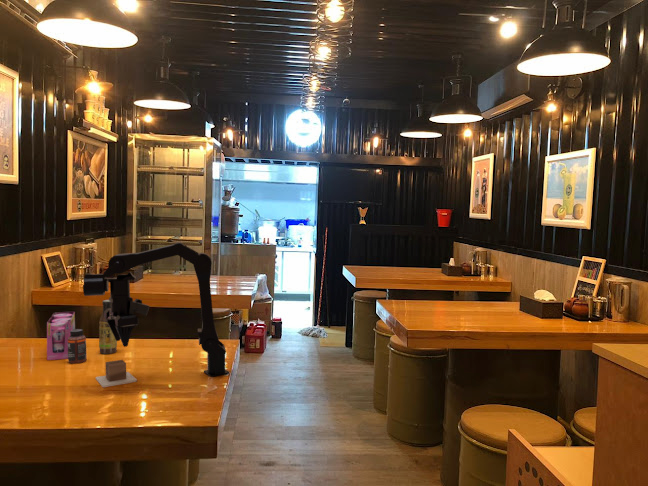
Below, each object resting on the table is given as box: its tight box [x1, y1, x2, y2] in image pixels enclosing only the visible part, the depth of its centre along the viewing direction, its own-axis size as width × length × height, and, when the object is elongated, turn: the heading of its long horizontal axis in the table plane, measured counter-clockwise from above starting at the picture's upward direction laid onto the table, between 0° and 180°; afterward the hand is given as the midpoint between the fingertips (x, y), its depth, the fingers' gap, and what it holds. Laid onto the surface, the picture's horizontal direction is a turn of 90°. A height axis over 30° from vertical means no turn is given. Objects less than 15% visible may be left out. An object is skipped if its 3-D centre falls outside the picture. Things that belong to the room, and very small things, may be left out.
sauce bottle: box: [98, 299, 118, 355], centre depth 198 cm, size 6×6×20 cm
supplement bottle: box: [67, 328, 87, 364], centre depth 185 cm, size 6×6×11 cm
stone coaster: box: [95, 371, 138, 388], centre depth 165 cm, size 10×10×1 cm
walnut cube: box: [105, 359, 127, 382], centre depth 164 cm, size 5×5×5 cm
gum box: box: [46, 311, 76, 361], centre depth 198 cm, size 24×8×14 cm, turn 21°
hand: (121, 343), depth 164 cm, fingers open, 9 cm apart
